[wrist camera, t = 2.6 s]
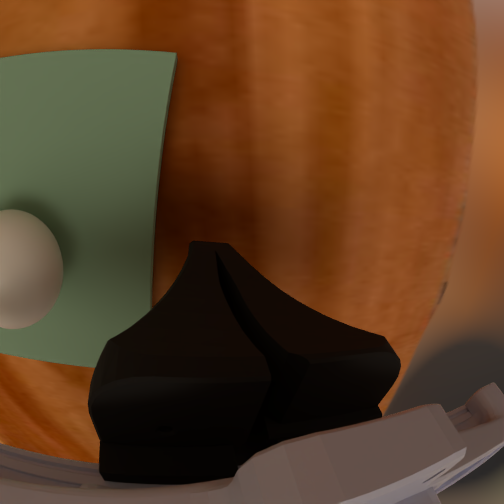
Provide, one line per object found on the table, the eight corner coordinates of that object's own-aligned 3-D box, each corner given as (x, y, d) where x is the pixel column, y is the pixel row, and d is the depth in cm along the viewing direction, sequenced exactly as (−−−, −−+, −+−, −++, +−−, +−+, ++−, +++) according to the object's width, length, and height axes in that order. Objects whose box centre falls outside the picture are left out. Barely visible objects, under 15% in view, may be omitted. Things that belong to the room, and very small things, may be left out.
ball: (79, 288, 11) (56, 362, 8) (1, 279, 10) (-37, 343, 7) (73, 194, 10) (29, 250, 6) (-14, 191, 8) (-73, 241, 5)
